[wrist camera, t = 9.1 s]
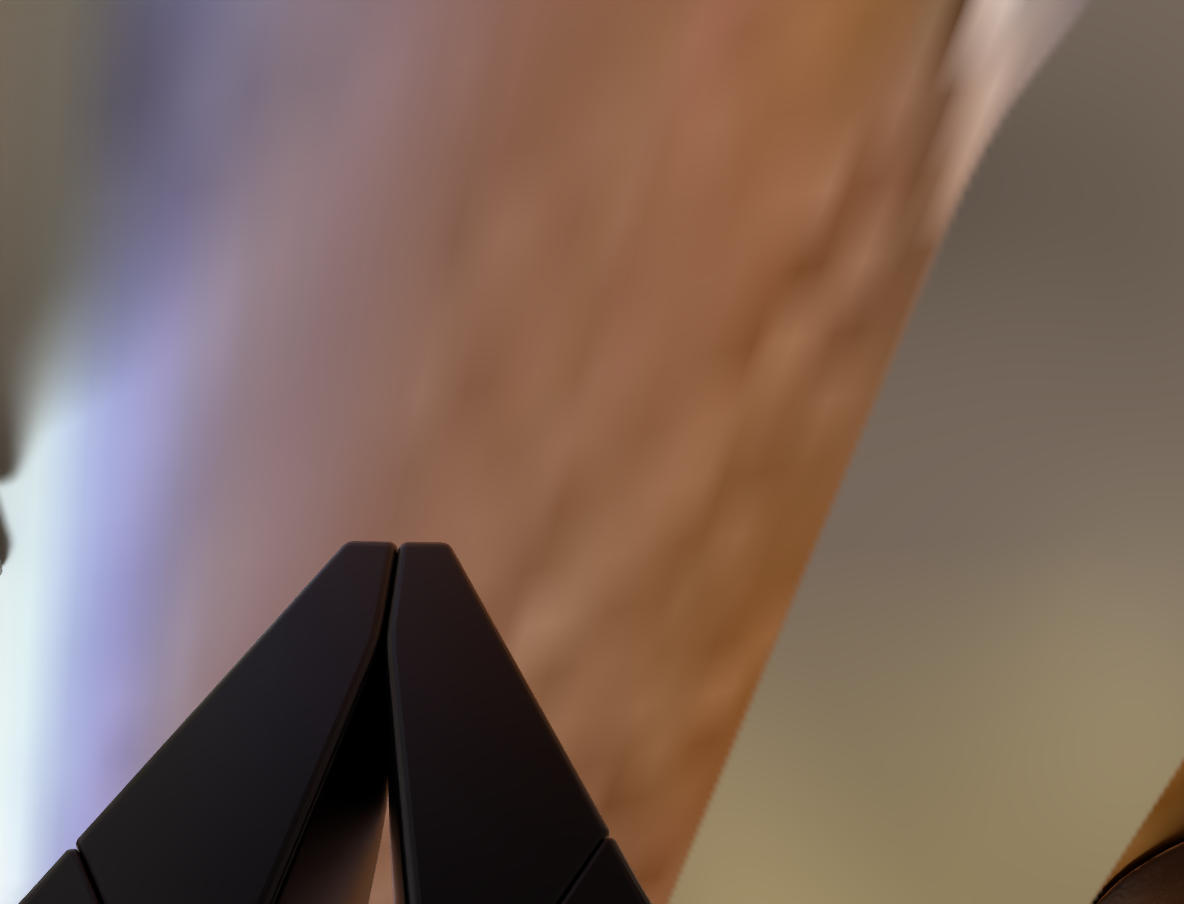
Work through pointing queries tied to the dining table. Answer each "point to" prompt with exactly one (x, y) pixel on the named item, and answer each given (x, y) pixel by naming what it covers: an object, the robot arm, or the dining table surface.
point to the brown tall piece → (1152, 881)
